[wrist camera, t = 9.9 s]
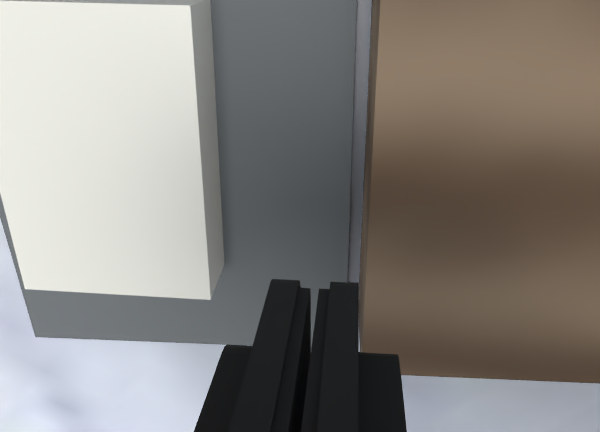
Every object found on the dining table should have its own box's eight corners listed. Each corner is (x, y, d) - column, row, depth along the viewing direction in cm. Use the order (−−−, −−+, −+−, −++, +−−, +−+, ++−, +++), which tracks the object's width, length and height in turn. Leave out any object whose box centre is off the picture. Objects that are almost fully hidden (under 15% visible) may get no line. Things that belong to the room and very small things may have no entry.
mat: (345, 343, 23) (345, 349, 23) (40, 331, 24) (35, 337, 24) (361, -146, 15) (361, -149, 15) (-94, -134, 16) (-104, -137, 16)
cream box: (24, 289, 20) (57, 254, 22) (210, 299, 19) (224, 263, 21) (-50, -1, 15) (0, -7, 17) (190, 5, 15) (210, -2, 17)
